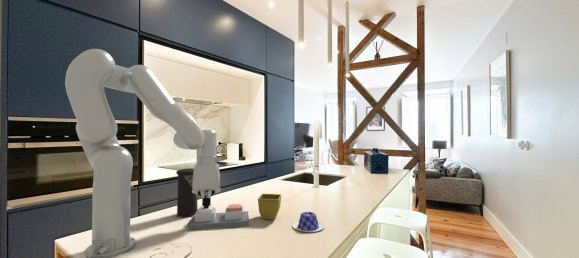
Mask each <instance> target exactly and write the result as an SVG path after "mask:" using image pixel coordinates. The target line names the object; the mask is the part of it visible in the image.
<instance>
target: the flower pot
mask: <svg viewBox="0 0 579 258" xmlns="http://www.w3.org/2000/svg"><path fill="white" fill-rule="evenodd" d="M281 202H282V194H278V193H261V194H260V195H259V197H257V204H258V205H257V206H258V212H259V215H260V218H261V219H262V220H276V217H277V216H278V213H279V211H280V208H281Z"/></svg>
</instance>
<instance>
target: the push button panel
mask: <svg viewBox="0 0 579 258" xmlns="http://www.w3.org/2000/svg"><path fill="white" fill-rule="evenodd" d="M198 210H199V208H198ZM198 210H197V212H196V213H195V214H194V215H193V216H191V219H190V220H189V222H188V224H187V231H197V230H210V229H226V228H238V227H239V228H240V227H250V218H249V211H248V210H247V211H246V210H245V209H244V205H241V211H231V212H228V206H226V207H225V212H217V207H213V213H198ZM244 210H245V211H244Z"/></svg>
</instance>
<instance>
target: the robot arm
mask: <svg viewBox="0 0 579 258" xmlns="http://www.w3.org/2000/svg"><path fill="white" fill-rule="evenodd" d="M64 86H65V91H66V94H67V98H68V101H69V103H70V106H71V110H72V111H73V114H74V116H75V119H76V124H75V132H76V134H77V137H78V139H79V143H80V144H81V147H82V149H83V151H84V154H85V157H86V159H87V160H88V163H89V165H90V166H91V168H92V169H93V179H92V180H93V182H92V198H91V199H92V211H91V212H92V216H91V218H92V219H91V220H92V221H91V225H92V226H91V244H90V245H89V246H87V247H86V248H85V250H84V255H85V257H87V258H108V257H113V256H117V255H120V254H122V253H125V252H128V251H130V250H131V249H132V248H134V247H135V246H136V245H137V244H136V243H137V242H136V241H137V240H136V238H135V237H132V236H131V193H132V191H131V190H132V189H131V185H132V175H133V166H134V162H133V156H132V154H131V153H130V151H129V150H128V149H127V148H125V147H123V146H121V145H120V142H119V140H118V138H117V133H118V127H119V126H118V124H117V123H118V122H117V121H116V118H115V117H114V115H113V112H112V109H111V107H110V105H109V102H108V100H107V97H106V94H105V93H106V92H105V88H108V89H112V90H114V91H115V90H116V91H119V92H126V93H131V94H135V95H136V96H137V98H138V99H139V100H140V102H142V103H143V105H144V106H145V108H146V109H147V110H148V111H149V113H151V115H153V117H155V118H156V119H159V120H160V121H162V122H164V123H166V124H168V125H169V126H170V127H171V128H172V129H173V130H174V131H175V133H174V135H173V137H172V138H173V143H174V145H175V146H176V147H177V148H180V149H183V150H192V151H193V150H194V151H196V164H194V167H193V169H194V172H193V184H192V187H193V190H192V193H195V194H197V196H199V197H200V198H201V200H202V201H201V203H202V204H201V206H204V209H205V208H209V206H212V205H211V203H212V202H211V200H212V199H211V197H212V196H214V194H217V193H219V192H221V171H220V165H219V164H220V163H218V162H221V157H218V156H217V150H218V149H217V144H218V143H217V141H218V140H217V136H218V135H217V134H218V133H217V131H216V130H214V129H202V128H201V127H200V126H199V124H198V123H197V121H196V120H195V119H194V118H193V116H192V115H191V114H190V113H188V112H187V110H185V109H184V108H183V107H182V106H181V105H180V104H178V103H177V102H176V101H175V100H174V99H173V98H172V96H171V95H170V94H169V92H168V91H167V89H166V88H165V87H164V86H163V84H162V82H160V79H158V77H157V76H156V75H155V73H154V72H153V71H152V70H151V69H150V68H149V67H148V66H145V65H143V64H136V65H133V66H130V67H125V66H120V65H117V64H116V62H115V59H114V58H113V56H111V54H110V53H109V52H107V51H105V50H103V49H101V48H89V49H87V50H85V51H83V52H81V53H80V54H78V55H77V56H76V57H75V58H74V59H73V60H72V61H71V63H69V65H68V68H67V70H66V73H65V80H64ZM206 191H207V192H208V193H207V195H206Z"/></svg>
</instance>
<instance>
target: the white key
mask: <svg viewBox="0 0 579 258" xmlns="http://www.w3.org/2000/svg"><path fill="white" fill-rule="evenodd" d="M213 208H214V205H210V206H209V208H205V209H204V206H202V205H200V206H199V208H198V209H199V210H198V213H213Z"/></svg>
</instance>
